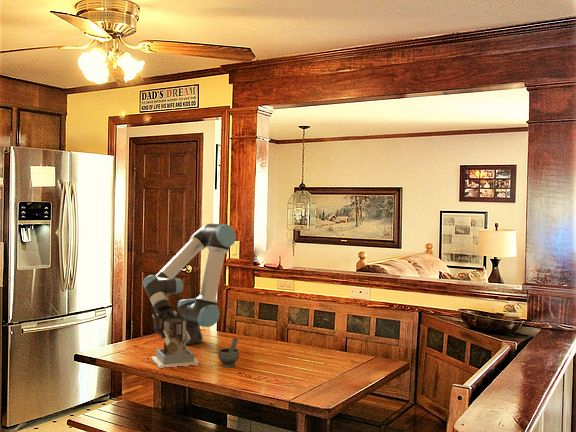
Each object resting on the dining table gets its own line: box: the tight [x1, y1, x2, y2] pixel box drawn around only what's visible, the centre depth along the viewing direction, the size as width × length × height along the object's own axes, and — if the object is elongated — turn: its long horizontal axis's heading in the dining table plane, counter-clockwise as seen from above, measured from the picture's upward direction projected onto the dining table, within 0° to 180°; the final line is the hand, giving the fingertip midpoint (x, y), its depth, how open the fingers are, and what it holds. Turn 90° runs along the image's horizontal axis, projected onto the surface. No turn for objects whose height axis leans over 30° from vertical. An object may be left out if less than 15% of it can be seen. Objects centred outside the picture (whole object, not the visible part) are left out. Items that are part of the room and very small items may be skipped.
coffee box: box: [163, 319, 187, 356], centre depth 282 cm, size 9×6×16 cm
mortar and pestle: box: [217, 337, 240, 368], centre depth 278 cm, size 11×9×12 cm
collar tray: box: [150, 347, 200, 369], centre depth 282 cm, size 18×18×5 cm
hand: (178, 341), depth 279 cm, fingers closed on coffee box, 10 cm apart
